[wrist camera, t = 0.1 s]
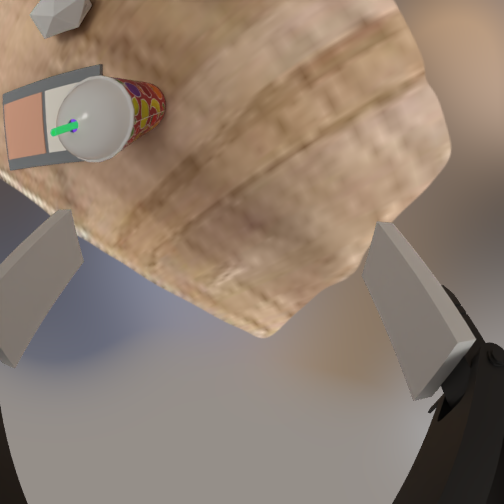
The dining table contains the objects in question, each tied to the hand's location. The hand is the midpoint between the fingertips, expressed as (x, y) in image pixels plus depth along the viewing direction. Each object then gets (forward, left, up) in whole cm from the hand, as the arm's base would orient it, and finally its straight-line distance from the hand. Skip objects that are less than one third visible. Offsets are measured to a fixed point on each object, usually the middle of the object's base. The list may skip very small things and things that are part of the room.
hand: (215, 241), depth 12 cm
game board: (-4, -30, -28) cm, 41 cm away
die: (-21, -25, -28) cm, 43 cm away
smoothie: (-4, -13, -28) cm, 31 cm away
